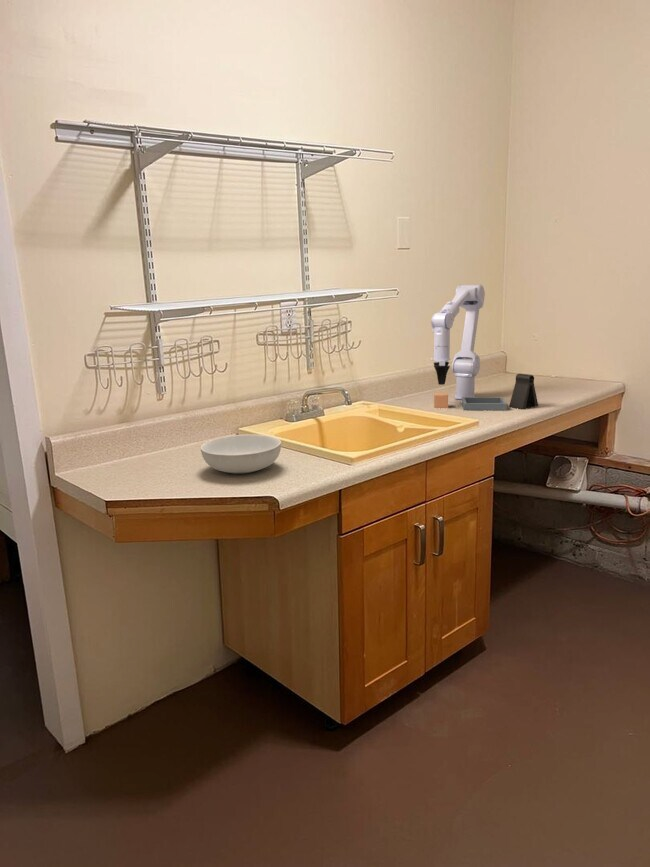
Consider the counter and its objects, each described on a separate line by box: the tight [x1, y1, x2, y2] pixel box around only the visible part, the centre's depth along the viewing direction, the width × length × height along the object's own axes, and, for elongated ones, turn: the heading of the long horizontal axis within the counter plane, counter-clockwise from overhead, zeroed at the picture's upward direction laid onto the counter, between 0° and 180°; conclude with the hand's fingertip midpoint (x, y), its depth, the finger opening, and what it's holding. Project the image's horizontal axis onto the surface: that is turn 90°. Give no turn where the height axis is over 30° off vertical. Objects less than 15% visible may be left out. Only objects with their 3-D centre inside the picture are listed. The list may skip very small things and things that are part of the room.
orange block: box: [433, 392, 449, 410], centre depth 245 cm, size 5×5×5 cm
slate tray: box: [461, 396, 508, 412], centre depth 243 cm, size 13×15×2 cm
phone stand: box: [508, 373, 539, 410], centre depth 240 cm, size 9×6×12 cm, turn 124°
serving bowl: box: [200, 434, 282, 474], centre depth 172 cm, size 21×21×7 cm
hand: (441, 382), depth 243 cm, fingers open, 7 cm apart
